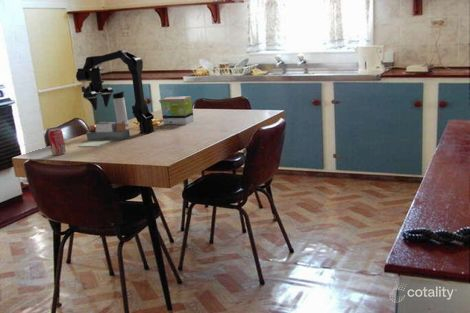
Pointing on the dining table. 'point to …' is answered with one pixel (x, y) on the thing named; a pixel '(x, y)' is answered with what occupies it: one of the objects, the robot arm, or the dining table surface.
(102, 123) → the lever cap
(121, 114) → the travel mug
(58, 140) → the beverage can
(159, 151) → the dining table surface
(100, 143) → the rubber mat
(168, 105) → the tea box
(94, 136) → the hand plane
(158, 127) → the dining table surface
